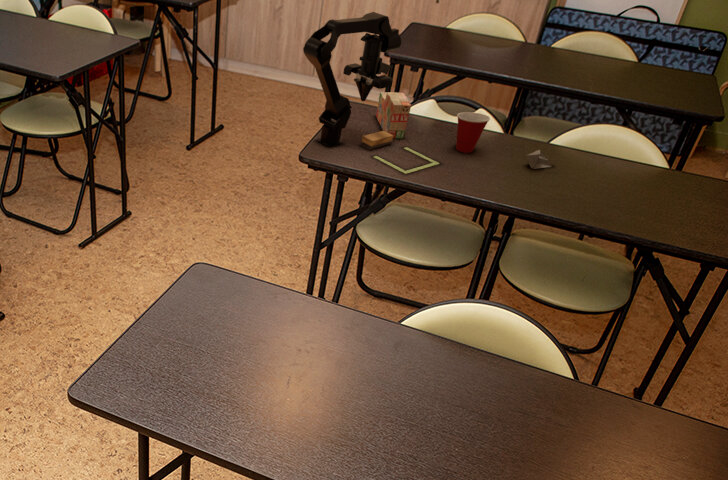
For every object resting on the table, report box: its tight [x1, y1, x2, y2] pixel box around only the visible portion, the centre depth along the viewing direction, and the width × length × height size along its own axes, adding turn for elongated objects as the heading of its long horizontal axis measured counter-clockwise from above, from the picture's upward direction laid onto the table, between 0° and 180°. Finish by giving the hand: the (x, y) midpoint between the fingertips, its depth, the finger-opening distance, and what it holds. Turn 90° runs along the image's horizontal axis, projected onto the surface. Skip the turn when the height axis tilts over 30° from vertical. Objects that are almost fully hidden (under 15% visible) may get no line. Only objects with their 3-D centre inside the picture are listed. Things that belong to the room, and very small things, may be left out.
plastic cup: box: [455, 111, 491, 154], centre depth 237 cm, size 11×11×12 cm
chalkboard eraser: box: [360, 130, 394, 151], centre depth 241 cm, size 10×5×4 cm, turn 122°
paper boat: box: [526, 149, 556, 170], centre depth 228 cm, size 12×6×9 cm
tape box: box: [373, 146, 440, 175], centre depth 233 cm, size 16×15×1 cm
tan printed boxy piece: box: [375, 91, 412, 140], centre depth 251 cm, size 21×6×12 cm, turn 179°
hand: (363, 100), depth 241 cm, fingers closed
